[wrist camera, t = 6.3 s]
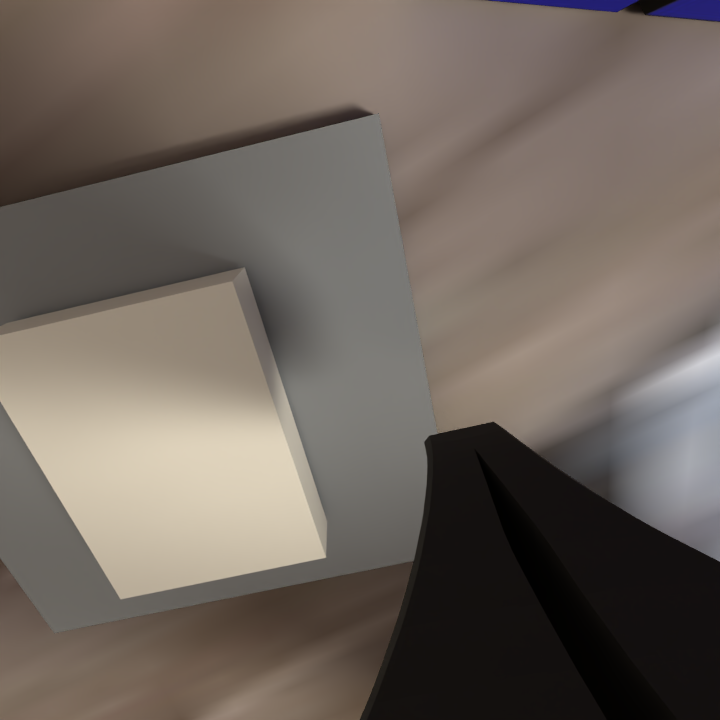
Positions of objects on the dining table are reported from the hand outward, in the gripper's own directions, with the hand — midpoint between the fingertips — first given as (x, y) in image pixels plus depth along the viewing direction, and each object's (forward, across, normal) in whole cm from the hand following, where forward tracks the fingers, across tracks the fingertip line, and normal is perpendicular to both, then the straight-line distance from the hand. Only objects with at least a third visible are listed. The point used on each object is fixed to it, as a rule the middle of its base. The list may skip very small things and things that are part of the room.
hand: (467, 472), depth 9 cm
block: (+3, +4, 0) cm, 5 cm away
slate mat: (+5, +7, 0) cm, 8 cm away
